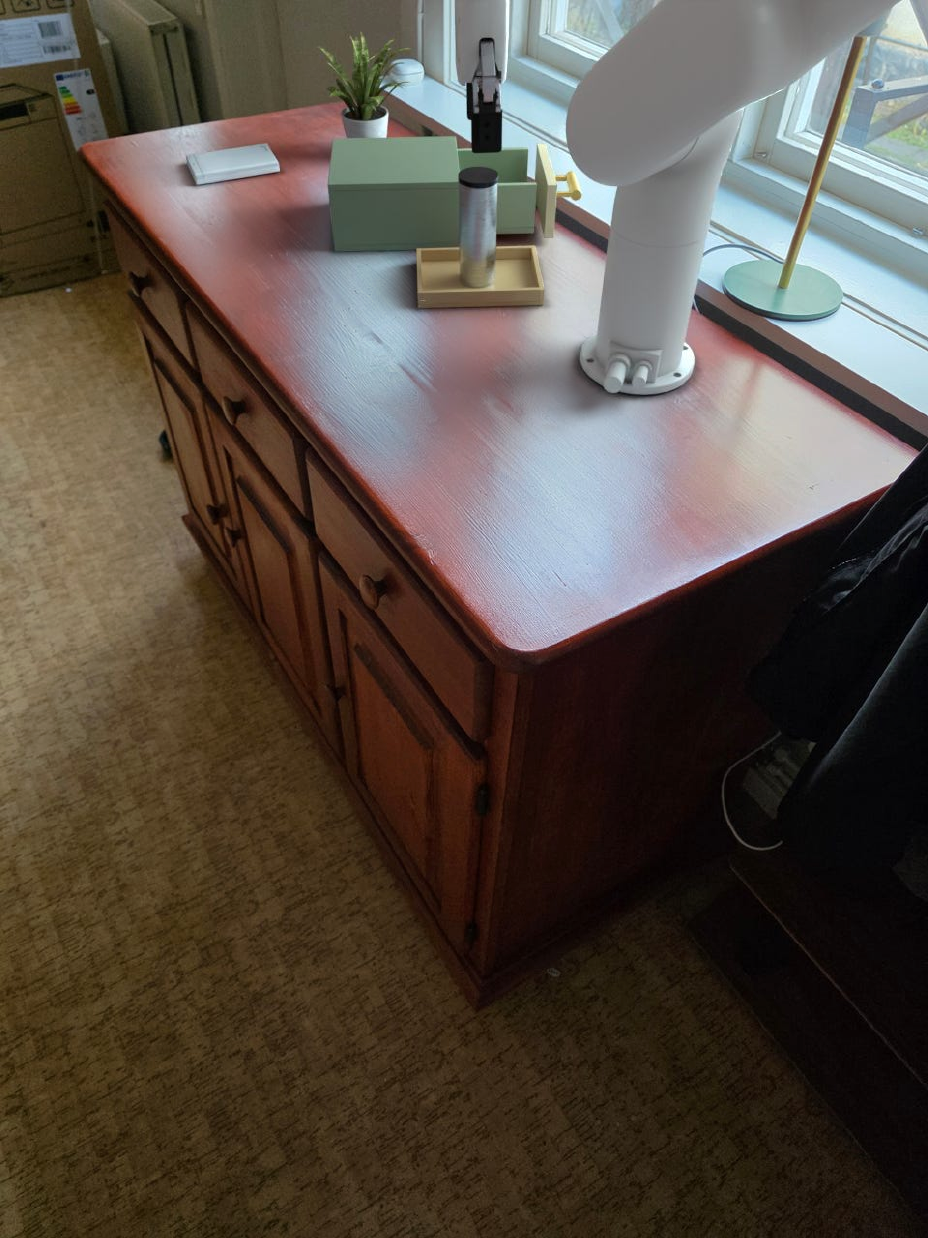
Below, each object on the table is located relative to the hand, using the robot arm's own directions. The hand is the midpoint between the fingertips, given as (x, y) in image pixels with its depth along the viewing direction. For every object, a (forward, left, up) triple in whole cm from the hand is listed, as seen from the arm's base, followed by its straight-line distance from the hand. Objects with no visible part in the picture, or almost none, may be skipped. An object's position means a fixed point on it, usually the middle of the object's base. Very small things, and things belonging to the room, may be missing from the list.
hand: (483, 134), depth 97 cm
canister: (0, +1, -17) cm, 17 cm away
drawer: (+17, +2, -17) cm, 24 cm away
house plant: (+32, +27, -18) cm, 45 cm away
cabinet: (+12, +16, -18) cm, 26 cm away
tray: (0, 0, -18) cm, 18 cm away
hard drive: (+22, +46, -18) cm, 54 cm away
